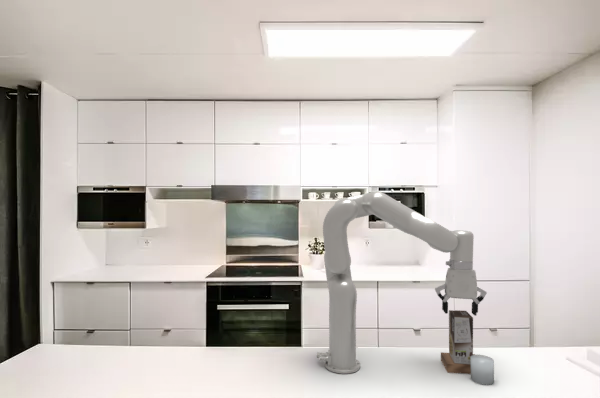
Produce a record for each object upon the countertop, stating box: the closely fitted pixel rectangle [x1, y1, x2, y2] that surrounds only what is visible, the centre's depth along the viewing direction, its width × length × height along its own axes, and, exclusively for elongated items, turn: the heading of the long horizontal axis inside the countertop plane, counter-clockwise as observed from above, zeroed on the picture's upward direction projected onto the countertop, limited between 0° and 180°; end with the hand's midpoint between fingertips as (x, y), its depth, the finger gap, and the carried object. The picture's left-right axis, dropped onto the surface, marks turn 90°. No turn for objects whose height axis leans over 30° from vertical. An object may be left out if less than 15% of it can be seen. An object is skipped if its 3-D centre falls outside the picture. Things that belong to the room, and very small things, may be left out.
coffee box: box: [448, 309, 474, 365], centre depth 134 cm, size 9×6×16 cm
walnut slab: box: [440, 351, 476, 375], centre depth 134 cm, size 12×10×3 cm
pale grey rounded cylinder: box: [470, 354, 495, 386], centre depth 125 cm, size 7×7×7 cm
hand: (459, 313), depth 134 cm, fingers open, 9 cm apart
